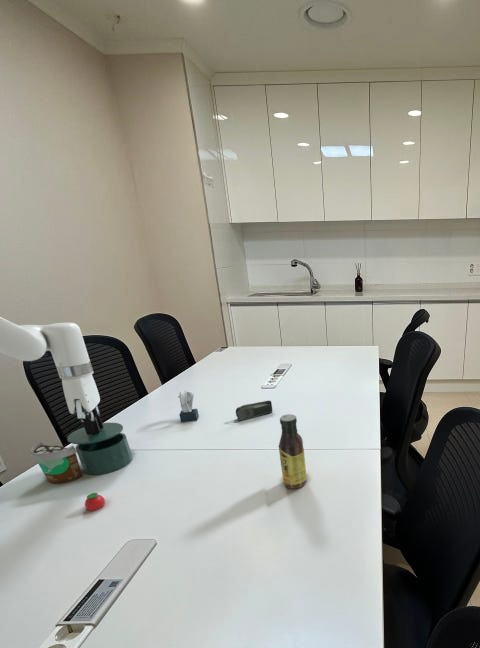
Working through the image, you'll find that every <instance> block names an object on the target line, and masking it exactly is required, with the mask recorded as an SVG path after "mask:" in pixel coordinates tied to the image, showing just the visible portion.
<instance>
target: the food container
mask: <svg viewBox="0 0 480 648" xmlns="http://www.w3.org/2000/svg"><path fill="white" fill-rule="evenodd" d="M30 455H31V460H33V461H34V462H37V464H38V465H39V467H40V469H41V471H42V473H43V474H44V476H45V478H46V480H47V481H48V483H49V484H52V485H62V484H66V483H70V482H73V481H76V480H79V479H80V478H82V477H83V473H82V470H81V467H80V463H79V458H78V455H77V451H76V448H75V446H74V445H71V446H69V447H64V446H61V445H46V444H43V442H42V441H40V442H38V443H37V444H35V445H34V446H32V448H31V450H30Z"/></svg>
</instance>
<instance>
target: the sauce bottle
mask: <svg viewBox="0 0 480 648" xmlns="http://www.w3.org/2000/svg"><path fill="white" fill-rule="evenodd" d="M297 422H298V421H297V416H296V415H295V414H292V413H289V414H284V415H282V416H280V418H279V424H280V427H281V428H280V429H281V435H280V439H279V443H278V452H279V460H280V468H281V473H282V481H283V484H284V486H285V487H286V488H287V489H299V488H302V487H303V486H305V485H306V483H307V467H306V457H305V448H304V441H303V438H302V436H301V435H300V434H299V433H298V428H297V427H298V426H297Z"/></svg>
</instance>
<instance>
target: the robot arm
mask: <svg viewBox="0 0 480 648" xmlns="http://www.w3.org/2000/svg"><path fill="white" fill-rule="evenodd" d="M46 352H50V353H51V356H52V359H53V362H54V365H55V368H56V370H57V373H58V377H59V378H60V379H61V384H62V390H63V394H64V398H65V402H66V405H67V409H68V411H69V413H70V414H71V415H75V414H76V416H77V419H78V420H80V422H81V423H82V424H83V428H85V431H86V434H87V435H90V434H98V433H100V430H99V427H100V429H103V424H102V423H103V421H102V417H101V414H100V413H101V412H100V410H99V407H98V405H99V403H100V401H101V396H100V393H99V390H98V387H97V384H96V381H95V379H94V376H93V375H94V373H95V372H94V369H93V365H92V363H91V359H90V356H89V353H88V350H87V346H86V344H85V340H84V337H83V334H82V330H81V328H80V326H79V325H78V324H77V323H75V322H70V321H69V322H55V323H50V324H19V325H18V324H17V323H14V322H12V321H10V320H8V319H6V318H3V317H2V316H0V354H2V355H5V356H7V357H9V358H12V359H15V360H18V361H23V362H33V361H37V360H39V359H41V358H42V357H43V356H44V355H45V354H46ZM94 416H96V418H97V420H95V419H94ZM97 421H98V423H97ZM98 424H99V427H98Z"/></svg>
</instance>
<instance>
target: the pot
mask: <svg viewBox="0 0 480 648" xmlns="http://www.w3.org/2000/svg"><path fill="white" fill-rule="evenodd" d="M74 448H75V449H76V451H77V453H76V455H77V457H78V460H79V461H80V464H81V466H82V469H83V471H84V473H85V474H87V475H90V476H101V475H105V474H110V473H113V472H117V471H119V470H121V469H124V468H125V467H126V466H128V465H129V464H130V463H131V462H132V461H133V454H132V451H131V448H130V445H129V441H128V439H127V435H126V433H123V432H120V433H119V434H118V435H116V436H114V437H112V438H109V439H107V440H104V441H100V442H96V443H90V444H76V445H75V446H74Z"/></svg>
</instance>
